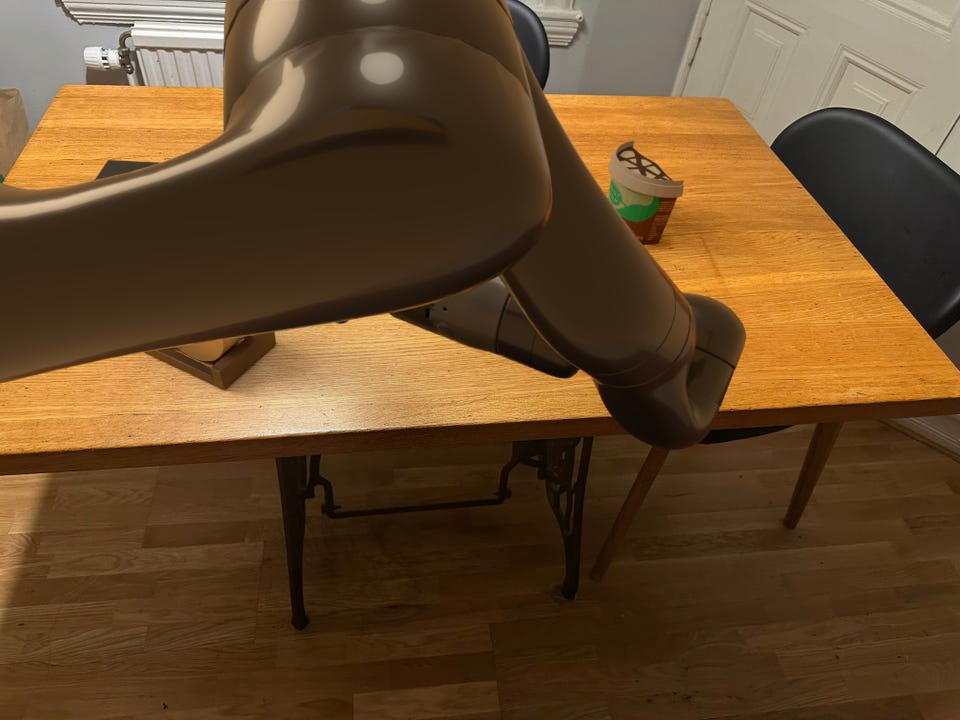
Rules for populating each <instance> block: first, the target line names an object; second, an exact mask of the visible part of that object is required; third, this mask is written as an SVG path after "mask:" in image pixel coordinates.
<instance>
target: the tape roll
mask: <svg viewBox="0 0 960 720" xmlns="http://www.w3.org/2000/svg"><path fill="white" fill-rule="evenodd" d="M243 338H244V337H238V338H232V339H225V340H218V341H212V342H205V343H199V344H192V345H186V346H179V347H175V348H176V349H177V350H178V351H180V352H182V354H184V355H186V356H187V357H190V358H192V359H194V360H197V361H200V362H214V361H216V360H218V359H220V358H222V356H223V355H224V354H226V353H227V352H229V350H230V349H232V348H234V346H235V345H236V344H238V343H240V342H241V340H242V339H243Z"/></svg>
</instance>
